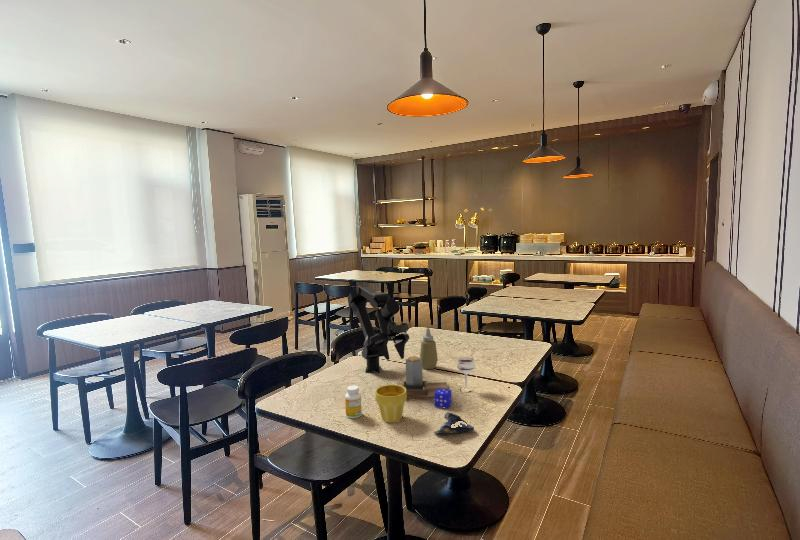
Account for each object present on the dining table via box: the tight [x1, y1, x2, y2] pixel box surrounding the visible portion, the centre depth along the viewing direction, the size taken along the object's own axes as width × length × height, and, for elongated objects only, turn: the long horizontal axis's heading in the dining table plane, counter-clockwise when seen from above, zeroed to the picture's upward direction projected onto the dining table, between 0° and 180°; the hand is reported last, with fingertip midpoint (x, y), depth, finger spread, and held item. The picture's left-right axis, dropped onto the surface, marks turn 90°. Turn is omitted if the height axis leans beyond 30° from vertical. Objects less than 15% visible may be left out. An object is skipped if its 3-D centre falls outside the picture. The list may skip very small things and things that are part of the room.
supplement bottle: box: [344, 385, 363, 419], centre depth 142 cm, size 5×5×10 cm
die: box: [434, 388, 453, 409], centre depth 149 cm, size 5×5×5 cm
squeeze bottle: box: [419, 327, 438, 370], centre depth 188 cm, size 8×8×18 cm
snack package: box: [433, 411, 475, 435], centre depth 130 cm, size 12×6×12 cm
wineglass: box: [456, 356, 476, 389], centre depth 161 cm, size 7×7×12 cm
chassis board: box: [396, 380, 449, 401], centre depth 161 cm, size 14×20×3 cm
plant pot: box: [374, 384, 407, 423], centre depth 139 cm, size 10×10×10 cm
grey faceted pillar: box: [405, 355, 424, 390], centre depth 159 cm, size 4×4×13 cm
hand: (395, 359), depth 167 cm, fingers open, 9 cm apart
